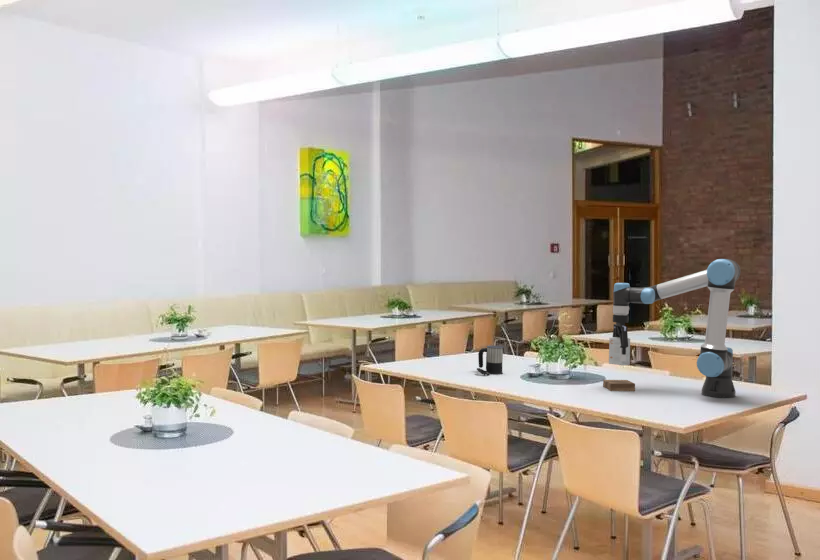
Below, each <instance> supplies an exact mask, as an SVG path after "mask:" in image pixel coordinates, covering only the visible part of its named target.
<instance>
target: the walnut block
mask: <svg viewBox="0 0 820 560" xmlns="http://www.w3.org/2000/svg"><path fill="white" fill-rule="evenodd" d="M602 380H603V381H602V384H603V385H602V386H603V389H607V390H608V391H610V392H636V383H634V382H632V381H630V380H628V379H602Z"/></svg>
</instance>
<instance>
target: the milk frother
mask: <svg viewBox="0 0 820 560" xmlns="http://www.w3.org/2000/svg"><path fill="white" fill-rule="evenodd" d="M484 353H486V354H485V355H486V357H485V359H486V360H485V361H486V362H485V369H483V367H484ZM477 355H478V367H476V371H477V372H479V373H481V374H482V375H483V376H490V375H502V374H504V373H503V359H504V358H503V357H504V346H503V345H502V346H501V345H487V346H486V347H483V348H481V349H479V351H478V354H477Z"/></svg>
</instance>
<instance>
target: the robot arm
mask: <svg viewBox="0 0 820 560" xmlns="http://www.w3.org/2000/svg"><path fill="white" fill-rule="evenodd" d="M740 275H741V266H740V265H739V264H738V262H737V261H735V260H732V259H730V258H718V259H715V260H713V261H711V262H710V264H708V267H707V268H706V269H705V270H701V271H698V272H695V273H690V274H688V275H684V276H682V277H678V278H676V279H671V280H668V281H665V282H661V283H659V284H654V285H652V286H647V287H631V286H630V283H628V282H616V283H614V285H613V292H612V293H613V301H612V302H613V304H612V314H613V315H612V322H613V323H614V324H613V331H612V337H620V342H621V346H620V361H626V348H627V347H628V338H629V336H628V326H626V324H628V323H629V319H630V318H629V311H630V309H631V308H630V303H631V304H644V305H649V304H651V305H652V304H653V303H655V302H657V301H660V300H663V299H666V298H667V299H668V298H670V297H674V296H677V295H682V294H684V293H688V292H691V291H695V290H698V289H699V290H700V289H702V288H705V287H707V289H708V290H709V291H710V292H709V304H708V311H707V320H706V328H705V329H706V330H705V338H704V343H702V344H701V345H700V352H699V356H698V357H697V359H696V367H697V368H696V369H697V370H698V371H699V372H700V373H701V374H702V376H705V379H704V382H703V385H702V387H701V395H702V396H703V395H704V396H706V395H707V397H713V398H735V397H736V395H737V393H736V388H735V386H734V382H733V362H734V361H733V358H734V357H733V356H734V353H733V352H734V349H733V348H732V347H727V346H726V344H725V343H726V335H727V334H726V333H727V326H728V318H729V317H728V316H729V310H730V308H729V307H730V299H731V293H732V292H733V291H735V287H736V282H737V280H738V279H739V278H740Z"/></svg>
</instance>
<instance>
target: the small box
mask: <svg viewBox="0 0 820 560" xmlns="http://www.w3.org/2000/svg"><path fill="white" fill-rule="evenodd" d="M608 341H609V344H608V345H609V346H608V347H609V348H608V364H609V365H616V366H617V365H619V366H628V365H631V364H630V362H631V338H630V337H628V347H627V348H626V361H620V346H621V342H620V337H613V336H612V337H611V336H610V337H609V340H608Z"/></svg>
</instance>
